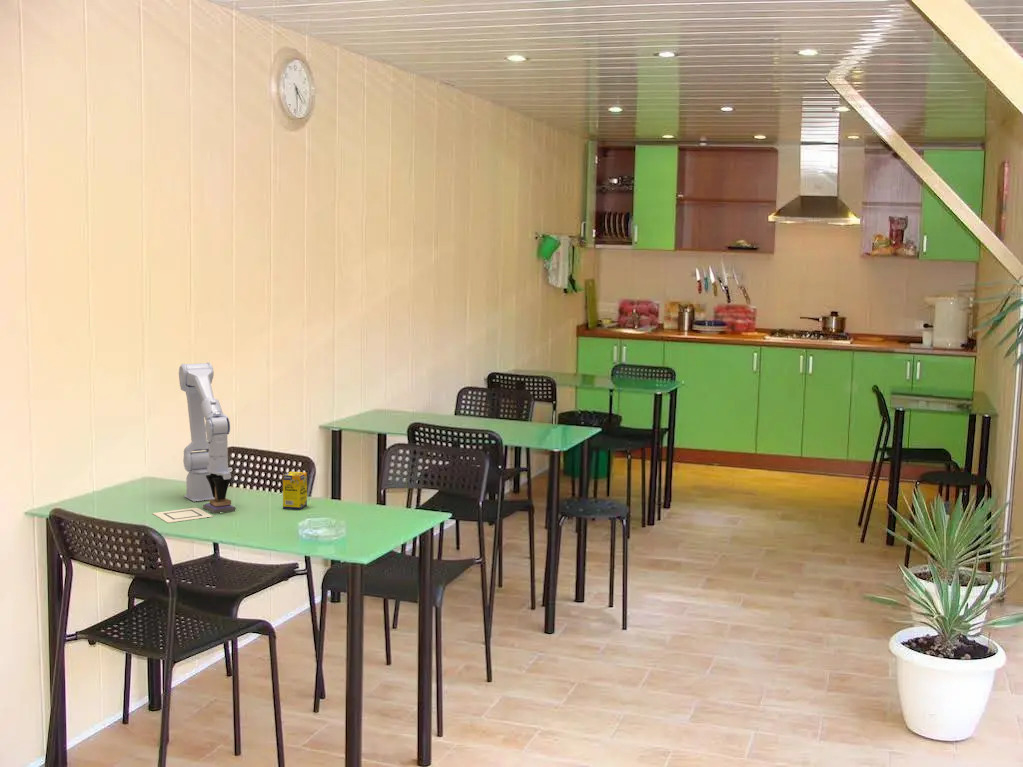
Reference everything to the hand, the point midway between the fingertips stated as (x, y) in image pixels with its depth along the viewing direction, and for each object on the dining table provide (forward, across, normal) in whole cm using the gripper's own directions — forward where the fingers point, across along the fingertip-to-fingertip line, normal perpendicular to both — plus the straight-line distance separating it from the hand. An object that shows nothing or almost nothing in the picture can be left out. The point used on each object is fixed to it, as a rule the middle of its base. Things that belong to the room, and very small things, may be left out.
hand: (219, 498), depth 355 cm
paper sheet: (+4, -1, +12) cm, 13 cm away
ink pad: (+4, 0, 0) cm, 4 cm away
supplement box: (+4, -10, -21) cm, 24 cm away
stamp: (+2, 0, 0) cm, 2 cm away
